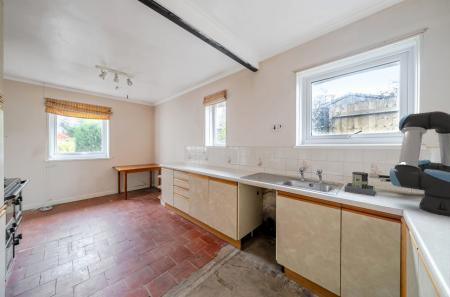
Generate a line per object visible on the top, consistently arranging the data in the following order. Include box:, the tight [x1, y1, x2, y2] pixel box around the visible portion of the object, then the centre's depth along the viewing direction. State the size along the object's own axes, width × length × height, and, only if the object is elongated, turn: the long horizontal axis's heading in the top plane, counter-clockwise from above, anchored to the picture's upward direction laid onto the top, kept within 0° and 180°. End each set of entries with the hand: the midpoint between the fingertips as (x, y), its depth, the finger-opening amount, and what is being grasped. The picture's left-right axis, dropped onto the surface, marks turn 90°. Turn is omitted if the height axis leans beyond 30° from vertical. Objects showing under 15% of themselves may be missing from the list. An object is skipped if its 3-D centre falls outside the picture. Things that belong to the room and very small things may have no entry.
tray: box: [344, 182, 376, 196], centre depth 137 cm, size 18×18×4 cm
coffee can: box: [351, 171, 369, 189], centre depth 137 cm, size 10×10×14 cm
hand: (374, 178), depth 134 cm, fingers open, 13 cm apart
